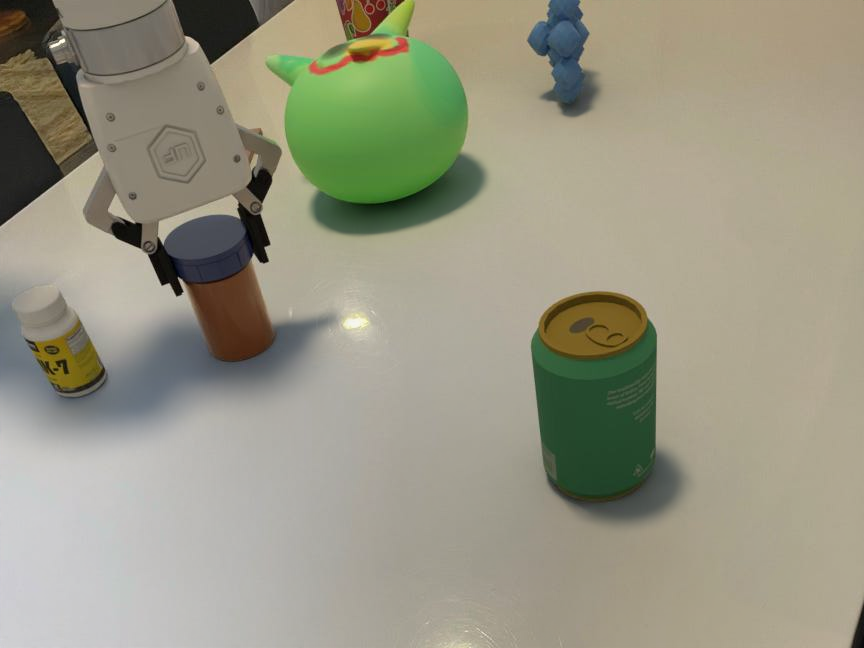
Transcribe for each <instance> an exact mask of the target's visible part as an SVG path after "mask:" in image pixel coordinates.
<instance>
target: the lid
mask: <svg viewBox="0 0 864 648" xmlns="http://www.w3.org/2000/svg"><path fill="white" fill-rule="evenodd" d="M163 246H164V247H165V249H166V251H167V254H168V256H169V258H170V261H171V263H172V265H173V268H174V270H175V272H176V275H177V277H178V279H180V280H181V281H182V280H185V281H189V282H210V281H215V280H219V279H222V278H225V277H228V276H230V275H232V274H234V273H236V272H238V271H239V270H241V269H242V268H244V267H245V266H246V265H247V264H248V263H249V261H250V260H252V258H253V257H254V253H253V251H254V250H253V246H252V243H251V240H250V237H249V233H248V230H247V227H246V225H245V224H244V222H243V221H242V220H241V219H240V217H238V216H234V215H232V214H231V215H230V214H222V213H221V214H209V215H204V216H198V217H196V218H193V219H190V220H188V221H185V222H184V223H182V224H179V225H178V226H176V227H175V228H174V229H173V230H172V231H170V232H169V233H168V235H166V237H165V239H164V241H163Z"/></svg>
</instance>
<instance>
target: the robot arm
mask: <svg viewBox="0 0 864 648" xmlns="http://www.w3.org/2000/svg"><path fill="white" fill-rule="evenodd" d="M52 4H53V6H54V7H55V9H56V12H57V15H58V17H59V19H60V23H61V26H62V27H63V29H62V30H60V33H61V35H60V36H58V37H57V39H56V40H54V41H50V42H48V43H47V46H48V47H49V50H50V52H51V55H52V56H53V59H54V61H55V63H56V65H60V64H64V63H68V64H71V63H74V64H75V66H76V67H79V66H80V68H79V70H78V71H77V73H76V75H75V79H76V83H77V89H78V93H79V98H80V101H81V105H82V108H83V112H84V114H85V117H86V120H87V122H88V125H89V129H90V132H91V135H92V138H93V141H94V143H95V147H96V149H97V151H98V153H99V156H100V159H101V161H102V163H103V167H102V169H101V171H100V173H99V175H98V177H97V179H96V182H95V184H94V185H93V188H92V190H91V192H90V194H89V196H88V197H87V200H86V202H85V204H84V205H83V208H82V215H83V217H84V220H85V221H86V223H87V224H89V225H90V226H93V227H94V228H97V229H98V230H100V231H102V232H104V233H107V234H109V235H111V236H113V237H114V238H115V239H117V240H118V241H121V242H123V243H125V244H128V245H130V246H133V247H135V248H137V249H139V250H141V251H142V252H143V253H144V254H146V255H147V257H148V259H149V261H150V264H151V265H152V268H153V270H154V272H155V275H156V277H157V279H158V281H159V283H160V285H161V287H163V286H166V285H170V287H171V290H172V291H173V293H174V295H175V297H176V298H177V297H181V296H182V295H183V293H185V291H184V289H183V287H182V284H181V281H180V280H179V279H180V278H178V277H177V275H176V272H175V270H174V268H173V265H172V263H171V261H170V258H169V256H168V254H167V251H166V249H165V247H164V243H163V242H162V240H161V238H160V236H159V224H160V221H164V220H166V219H170V218H172V217H175V216H178V215H181V214H183V213H186V212H189V211H192V210H195V209H197V208H200V207H203V206H205V205H208V204H211V203H214V202H217V201H219V200H221V199H224V198H227V197H229V196H232V197H234V198H235V199H236V201H237V208H236V210H237V211H236V212H237V213H238V216H239V219H241V220H242V221H243V222H244V224H245V225H246V227H247V230H248V233H249V237H250V240H251V243H252V246H253V250H254V251H253V255H254V257H256V259H257V260H258V263H260V264H263V265H265V264H267V263H270V259H269V257H268V253H267V251H266V248H267V247H269V246H271V240H270V238H269V237H270V236H269V235H268V231H267V228H266V226H265V223H264V220H263V217H262V214H261V213H263V210H264V205H263V203H264V202H265V199H266V197H267V194H268V192H269V191H270V188H271V186H272V183H273V176H274V173H276V170H277V168H278V165H279V162H280V160H281V157H282V154H283V149H282V148H281V147H280V146H279V144H278V143H277V142H276V141H275V140H273V139H271V138H269V137H266V136H264V135H262V134H261V135H260V134H258V133H256V132H253V131H251V130H249V129H250V128H247V127H245V126H243V125H241V124H238V123H236V122H235V119H234V117H233V114H232V112H231V109H230V106H229V104H228V101H227V99H226V97H225V94H224V92H223V90H222V87H221V85H220V83H219V80H218V78H217V76H216V74H215V72H214V69H213V67H212V66H211V64H210V62H209V59H208V57H207V56H206V54H205V52H204V50H203V48H202V47H201V45H200V43H199V42H198V41H196V40H195V39H194V38H192V37H190V36H186V35H185V33H184V31H183V27H182V24H181V21H180V19H179V16H178V13H177V10H176V7H175V4H174V2H173V0H52ZM245 149H246V150H249V151H251V152H253V153H254V154H256V155H257V159H256V164H255V165H254V166H253V167H251V162H250V163H249V160H248V157H247V154H246V151H245ZM115 196H116V197H117V198H118V200H119V202H120V204H121V206H122V207H123V209H124V211H125V212H126V214H127V215H128V217H129V218H130V219H131V220H132V221H133V222H132V221H130V220H128V219H125V218H123V217H121V216H118V215H115V214H113V213H112V212H110V211H109V208H110V207H111V204H112V202H113V200H114V198H115Z"/></svg>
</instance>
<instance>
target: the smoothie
mask: <svg viewBox="0 0 864 648" xmlns="http://www.w3.org/2000/svg"><path fill="white" fill-rule="evenodd" d="M404 1H406V0H335V2H336V6H337V10H338V13H339V18H340V20H341V24H342V28H343V32H344V35H345V38H346V39H345V40H346V42H347V41H350V40H353V39H356V38H361V37H366V36H368V35H370V34H371V33H372V32H373V31H374V30H375V29H376V28H377V27H378V26H379V25H380V24H381V23H382V21H383V20H384V19H385V18H386V17H387V16H388V15H389V14H390V13H391V12H392V11H393V10H394V9H395V8H396V7H397V6H399V5H400V4H401V3H402V2H404ZM406 37H410V33H409V29H408V30H407V33H406Z"/></svg>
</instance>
